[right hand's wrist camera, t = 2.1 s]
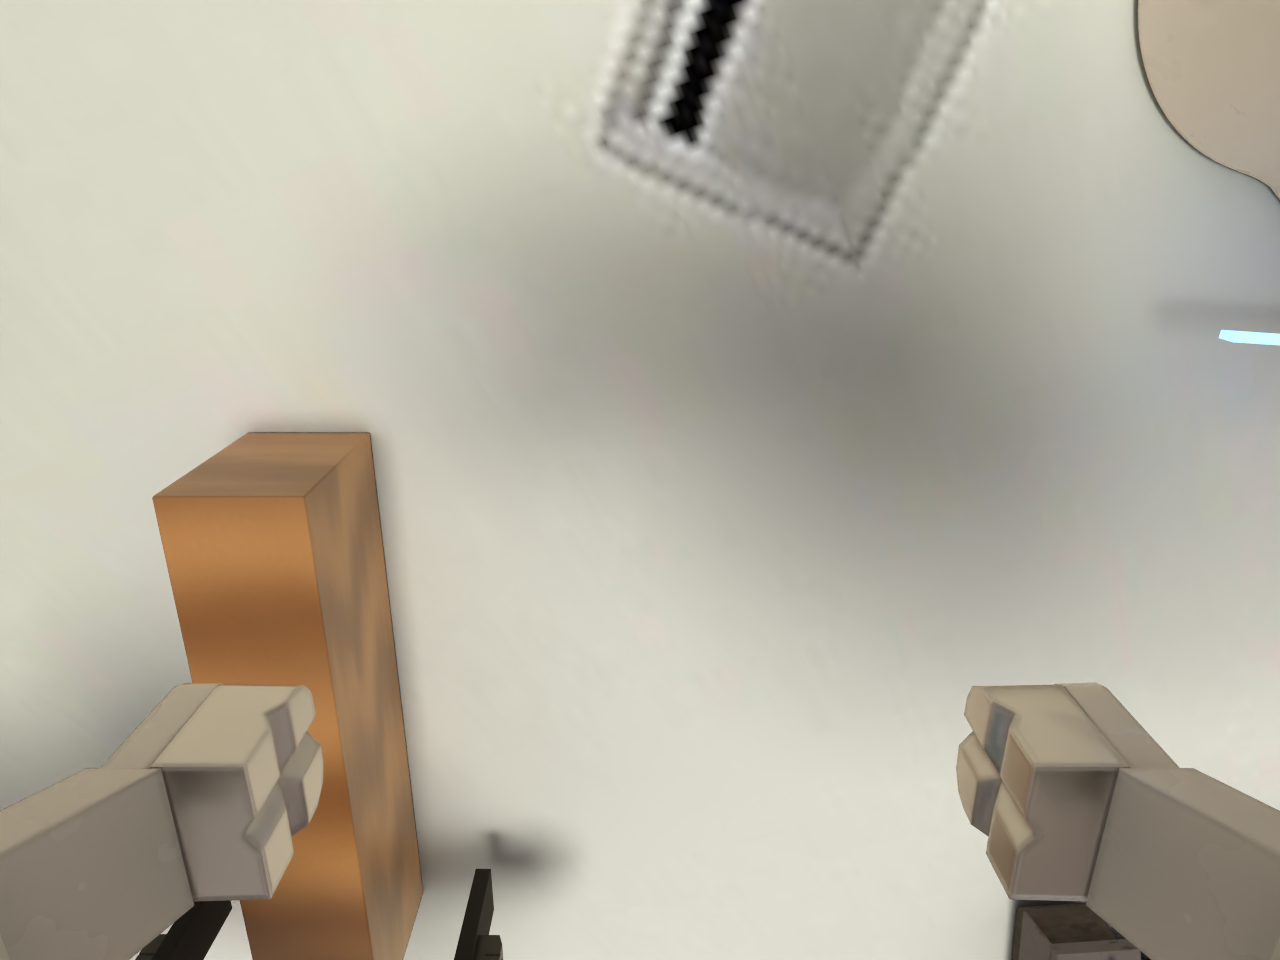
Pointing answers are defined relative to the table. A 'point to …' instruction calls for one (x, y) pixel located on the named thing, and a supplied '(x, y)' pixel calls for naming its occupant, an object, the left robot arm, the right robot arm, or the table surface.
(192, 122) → the table surface
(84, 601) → the table surface
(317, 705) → the bar
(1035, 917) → the toy
